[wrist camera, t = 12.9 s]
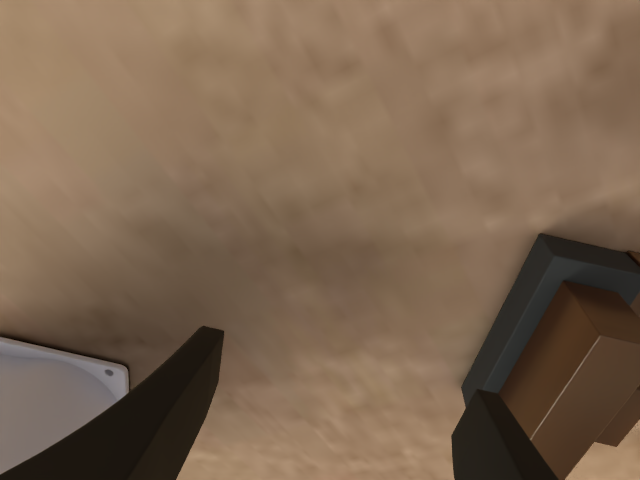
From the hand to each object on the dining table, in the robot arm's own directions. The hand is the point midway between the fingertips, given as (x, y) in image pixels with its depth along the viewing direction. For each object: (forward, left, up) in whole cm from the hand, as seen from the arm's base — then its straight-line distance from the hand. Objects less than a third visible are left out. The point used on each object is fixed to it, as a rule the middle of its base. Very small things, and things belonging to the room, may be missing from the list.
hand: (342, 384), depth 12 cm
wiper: (+10, -3, -9) cm, 14 cm away
